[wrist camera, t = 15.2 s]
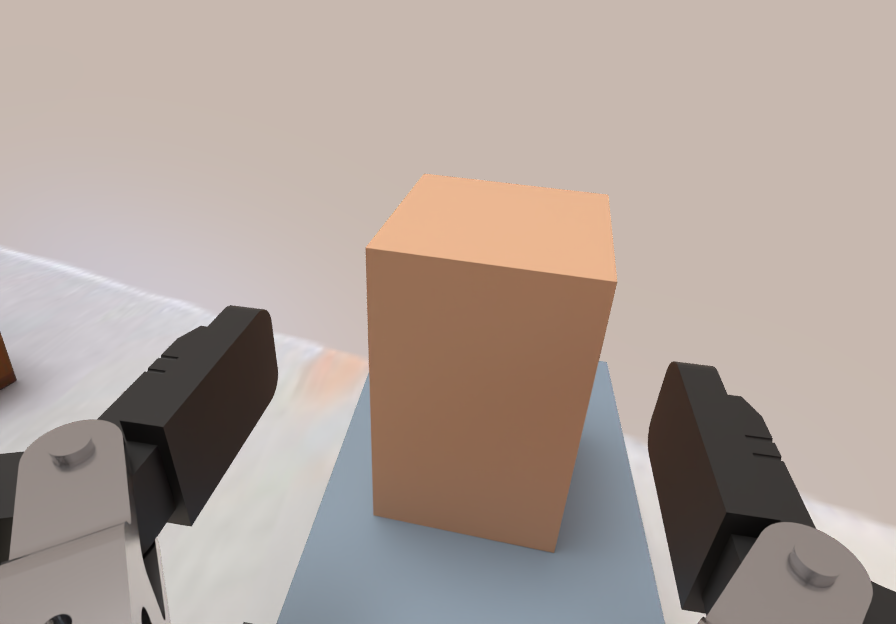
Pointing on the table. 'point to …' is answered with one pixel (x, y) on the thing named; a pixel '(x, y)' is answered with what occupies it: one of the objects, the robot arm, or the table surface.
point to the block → (485, 353)
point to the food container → (5, 367)
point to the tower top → (480, 549)
